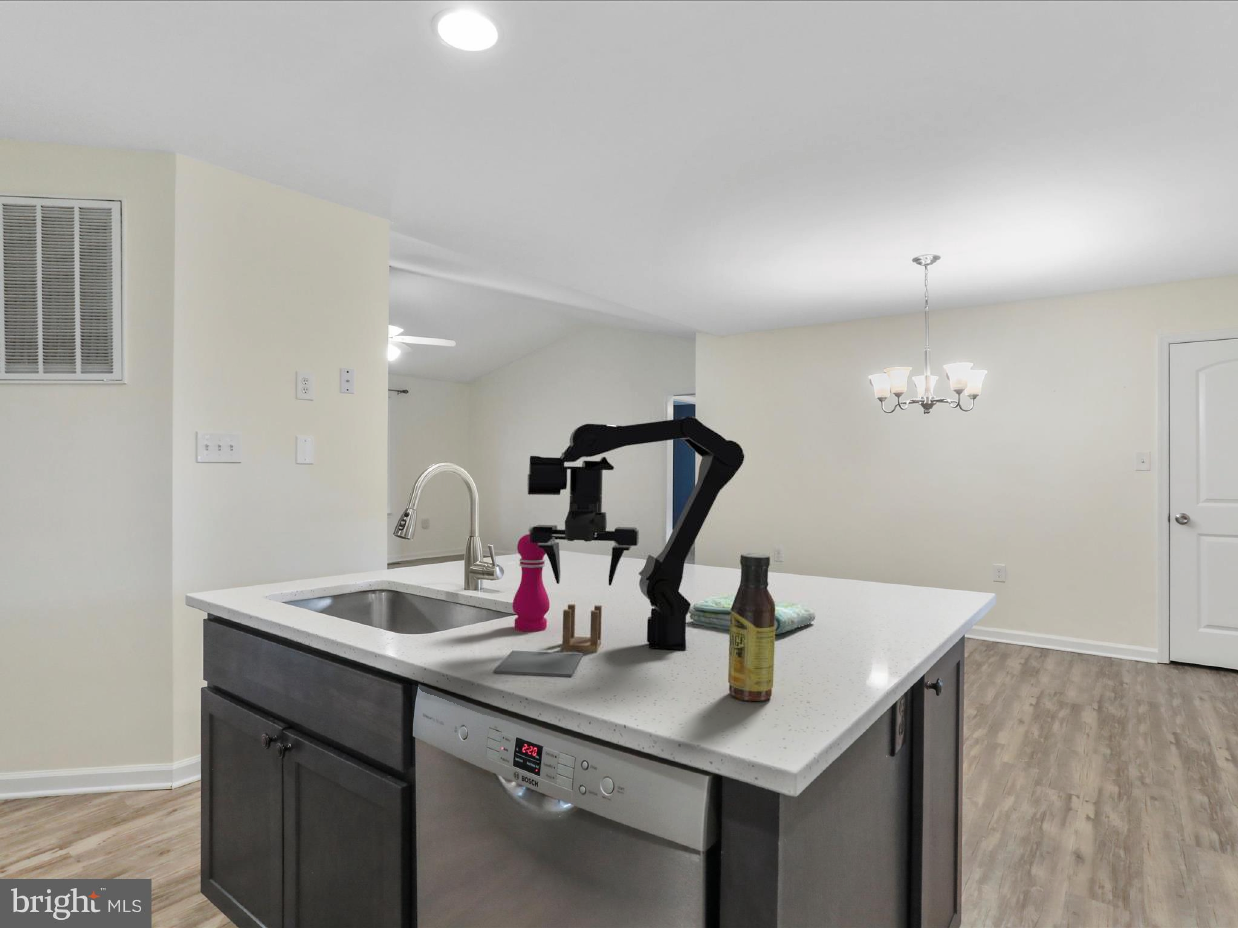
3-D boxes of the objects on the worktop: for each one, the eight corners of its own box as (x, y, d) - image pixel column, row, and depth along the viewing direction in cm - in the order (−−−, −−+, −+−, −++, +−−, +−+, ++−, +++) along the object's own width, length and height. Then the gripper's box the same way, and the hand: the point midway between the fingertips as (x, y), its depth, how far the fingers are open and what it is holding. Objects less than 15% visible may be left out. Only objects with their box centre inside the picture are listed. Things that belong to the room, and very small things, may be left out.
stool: (600, 644, 125) (601, 605, 125) (596, 652, 119) (597, 611, 119) (567, 642, 126) (568, 604, 126) (562, 651, 120) (563, 610, 120)
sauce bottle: (723, 689, 100) (726, 550, 100) (765, 689, 101) (768, 551, 101) (734, 704, 94) (737, 556, 94) (779, 704, 94) (782, 557, 94)
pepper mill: (552, 624, 140) (554, 525, 140) (544, 632, 132) (547, 527, 133) (516, 623, 140) (519, 523, 141) (507, 631, 133) (510, 526, 133)
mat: (582, 656, 116) (582, 653, 116) (571, 676, 104) (571, 674, 104) (512, 652, 117) (512, 650, 117) (493, 672, 105) (493, 670, 105)
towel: (725, 611, 159) (726, 589, 159) (816, 625, 147) (816, 601, 147) (684, 624, 145) (685, 599, 145) (781, 641, 132) (782, 614, 132)
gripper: (523, 495, 116) (521, 590, 115) (635, 498, 114) (633, 594, 114) (537, 494, 127) (535, 579, 127) (639, 496, 125) (637, 583, 125)
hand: (584, 584), depth 123 cm, fingers open, 9 cm apart
